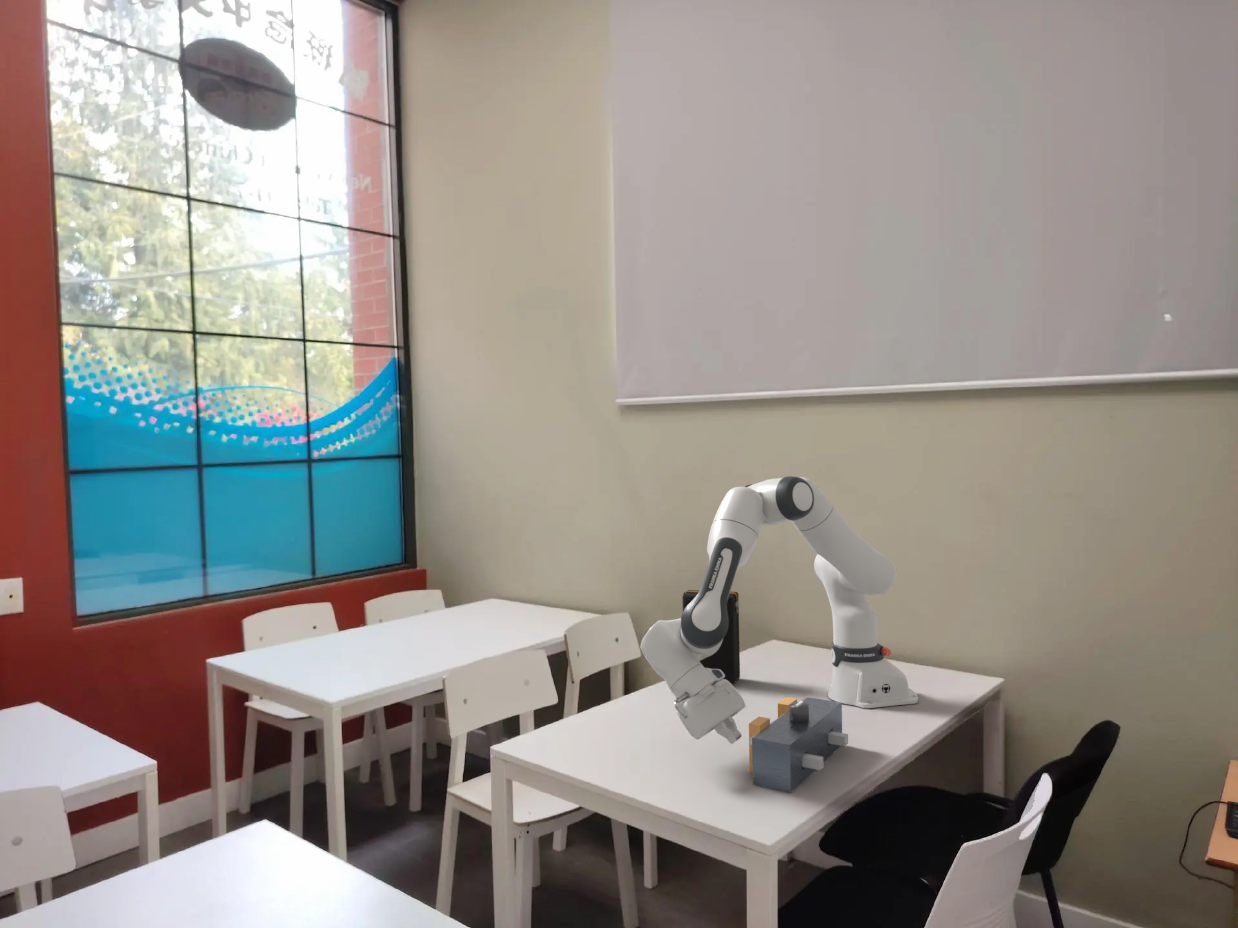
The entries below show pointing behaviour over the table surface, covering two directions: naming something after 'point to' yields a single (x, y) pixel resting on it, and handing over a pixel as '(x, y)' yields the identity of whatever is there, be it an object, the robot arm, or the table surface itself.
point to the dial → (799, 712)
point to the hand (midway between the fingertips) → (737, 740)
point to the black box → (724, 640)
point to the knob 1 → (807, 759)
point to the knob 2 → (832, 736)
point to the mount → (794, 745)
